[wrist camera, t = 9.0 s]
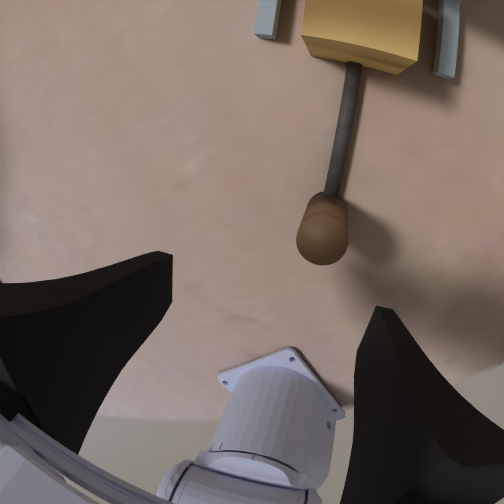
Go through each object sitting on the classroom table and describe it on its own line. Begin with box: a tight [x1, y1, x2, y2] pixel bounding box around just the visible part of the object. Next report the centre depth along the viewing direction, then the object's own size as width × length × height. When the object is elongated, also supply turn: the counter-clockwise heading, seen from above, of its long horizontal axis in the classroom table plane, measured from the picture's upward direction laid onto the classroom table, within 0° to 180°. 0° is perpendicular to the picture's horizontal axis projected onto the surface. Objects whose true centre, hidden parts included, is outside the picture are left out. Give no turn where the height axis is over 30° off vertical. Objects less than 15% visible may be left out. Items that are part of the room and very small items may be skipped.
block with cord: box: [296, 0, 423, 265], centre depth 14 cm, size 15×5×5 cm, turn 172°
